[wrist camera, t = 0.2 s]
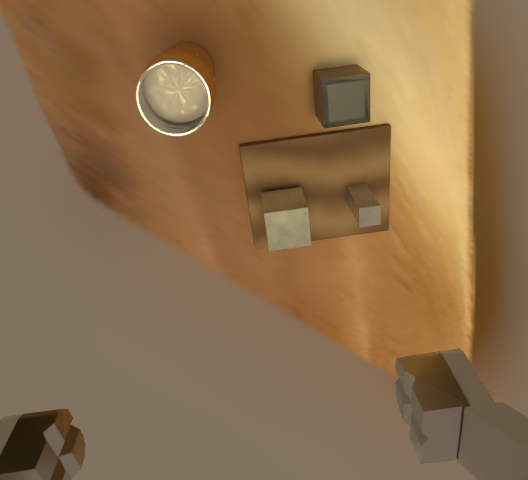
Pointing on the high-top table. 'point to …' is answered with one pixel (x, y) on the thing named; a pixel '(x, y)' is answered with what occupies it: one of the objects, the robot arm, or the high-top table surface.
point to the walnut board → (320, 177)
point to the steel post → (363, 205)
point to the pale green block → (286, 219)
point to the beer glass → (177, 90)
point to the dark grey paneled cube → (342, 95)
